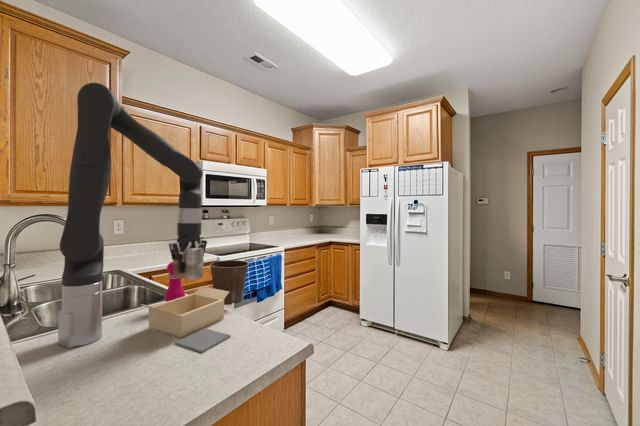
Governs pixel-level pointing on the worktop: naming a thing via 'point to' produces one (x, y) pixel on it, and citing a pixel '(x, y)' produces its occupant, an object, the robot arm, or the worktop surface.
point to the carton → (188, 312)
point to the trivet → (202, 340)
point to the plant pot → (230, 279)
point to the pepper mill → (173, 285)
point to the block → (191, 264)
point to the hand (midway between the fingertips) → (188, 271)
